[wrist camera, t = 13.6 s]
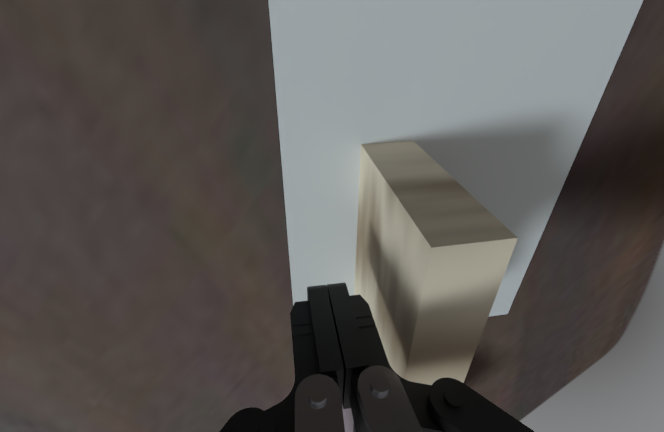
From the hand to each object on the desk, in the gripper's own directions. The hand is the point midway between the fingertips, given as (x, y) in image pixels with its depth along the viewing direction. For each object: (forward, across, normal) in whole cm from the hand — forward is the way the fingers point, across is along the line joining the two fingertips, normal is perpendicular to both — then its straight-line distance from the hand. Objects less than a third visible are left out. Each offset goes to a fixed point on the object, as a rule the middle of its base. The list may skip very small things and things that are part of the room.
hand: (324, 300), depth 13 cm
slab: (+6, -4, +1) cm, 7 cm away
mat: (+6, -7, 0) cm, 9 cm away
